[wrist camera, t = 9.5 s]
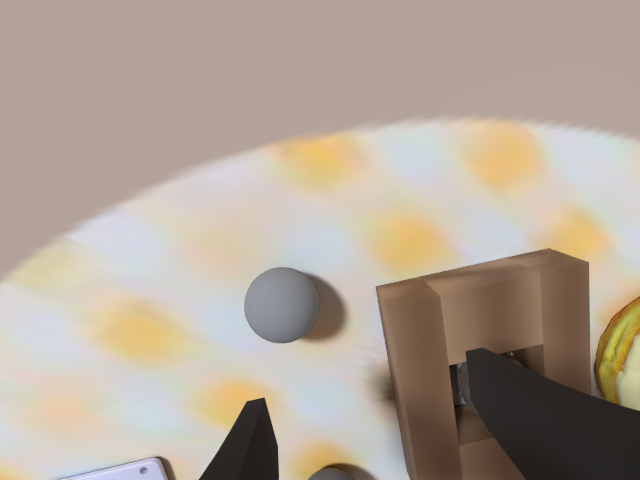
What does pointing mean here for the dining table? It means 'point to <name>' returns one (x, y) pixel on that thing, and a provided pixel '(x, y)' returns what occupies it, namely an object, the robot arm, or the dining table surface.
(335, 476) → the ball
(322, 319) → the dining table surface
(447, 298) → the hole plate
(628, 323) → the decorated donut
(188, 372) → the dining table surface
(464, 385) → the steel ball
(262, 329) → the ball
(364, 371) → the dining table surface
